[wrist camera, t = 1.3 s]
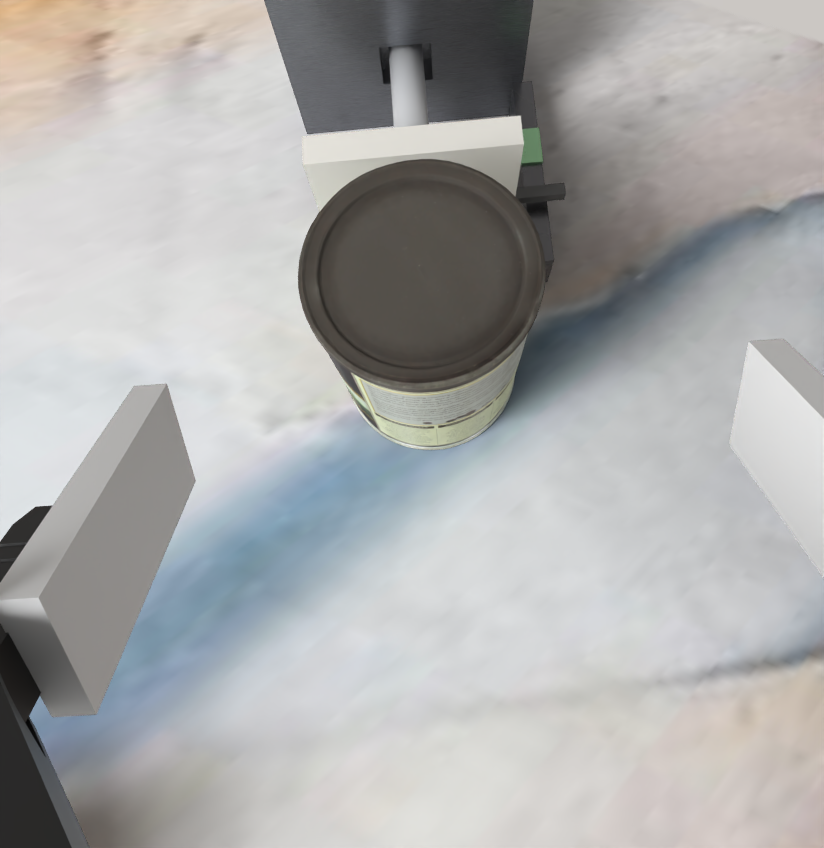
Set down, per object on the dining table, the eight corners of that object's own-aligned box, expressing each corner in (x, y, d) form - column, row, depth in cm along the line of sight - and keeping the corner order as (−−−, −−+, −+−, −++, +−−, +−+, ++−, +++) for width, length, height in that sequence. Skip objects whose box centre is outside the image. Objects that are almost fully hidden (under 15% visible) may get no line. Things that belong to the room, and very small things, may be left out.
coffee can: (312, 387, 43) (247, 295, 29) (413, 260, 45) (396, 115, 31) (448, 487, 41) (447, 438, 27) (549, 351, 43) (595, 240, 29)
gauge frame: (547, 281, 44) (578, 183, 33) (313, 301, 44) (269, 211, 34) (519, 48, 48) (539, -108, 37) (304, 69, 48) (262, -78, 37)
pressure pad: (558, 228, 43) (585, 138, 35) (332, 248, 44) (302, 164, 35) (538, 75, 46) (559, -46, 37) (325, 95, 46) (296, -19, 38)
